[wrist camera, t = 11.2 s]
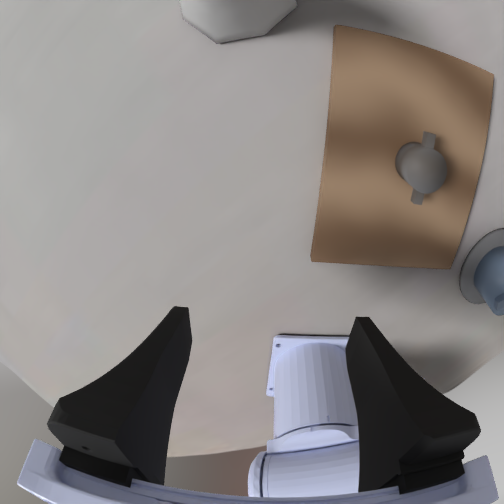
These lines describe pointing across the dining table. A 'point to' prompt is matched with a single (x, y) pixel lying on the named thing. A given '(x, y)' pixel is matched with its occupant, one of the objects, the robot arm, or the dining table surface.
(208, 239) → the dining table surface
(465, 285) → the coaster
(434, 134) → the post base
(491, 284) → the cap
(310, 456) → the robot arm
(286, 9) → the flask
